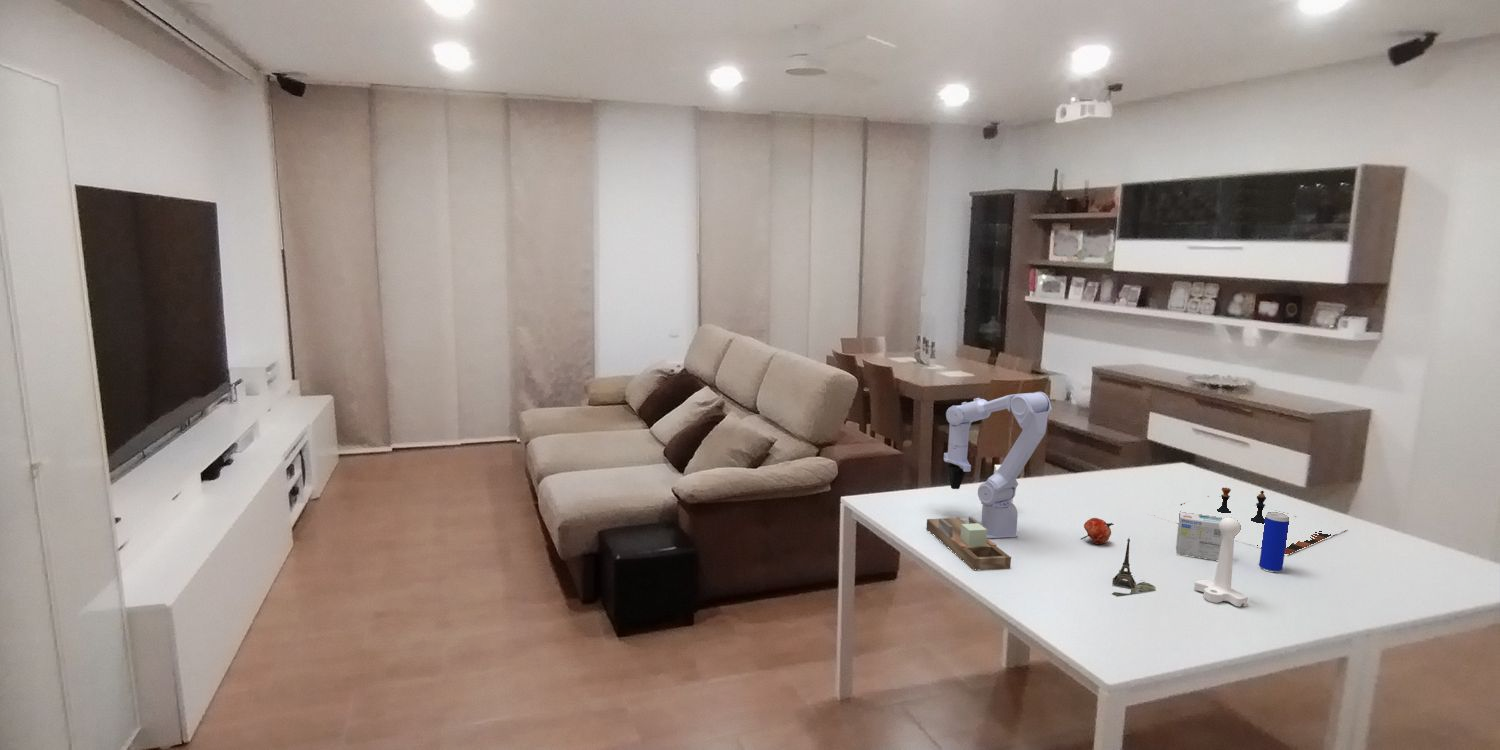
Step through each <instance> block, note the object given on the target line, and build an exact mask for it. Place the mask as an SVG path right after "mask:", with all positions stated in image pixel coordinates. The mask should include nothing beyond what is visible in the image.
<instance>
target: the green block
mask: <svg viewBox="0 0 1500 750" xmlns="http://www.w3.org/2000/svg"><path fill="white" fill-rule="evenodd" d="M986 539H987V529H986V528H984V527H983V526H982V525H980V524H979V523H974V524H968V523H967V524H961V536H960V540H961V541H962V542H963V543H965V544H966V545H967V546H968V547H972V546H986Z"/></svg>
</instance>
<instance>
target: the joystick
mask: <svg viewBox="0 0 1500 750" xmlns="http://www.w3.org/2000/svg"><path fill="white" fill-rule="evenodd" d="M1219 529H1220V531H1221V532H1222V534H1223V538H1222V543H1221V548H1220V554H1219V559H1218V561H1217V565H1216V571H1215V575H1214V581H1210V580H1207V579H1198V580H1196V581H1194V583H1193V584H1194V586H1193V590H1195V591H1199V592H1202V593H1203V595H1202V598H1203V599H1205V600H1206V602H1210V603H1212V604H1219V603H1221V602H1223V601H1224V602H1228V603H1231V604H1232V605H1233V606H1236V607H1247V605H1248V595H1246V594H1244V593H1242V592H1240V591H1238V590H1236V589H1233V588H1232V579H1233V578H1232V577H1233V576H1232V575H1233V565H1234V563H1233V561H1234V547H1235V541H1234V538H1235V536H1236V535H1237V534H1238V533H1239V532H1240V530H1241V525H1240V523H1239V522H1238V520H1236V519H1235V518H1232V517H1226V518H1223V519H1222V520H1221V521H1220V523H1219Z"/></svg>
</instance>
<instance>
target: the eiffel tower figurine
mask: <svg viewBox="0 0 1500 750" xmlns="http://www.w3.org/2000/svg"><path fill="white" fill-rule="evenodd" d="M1126 541H1127V543H1126V544H1127V545H1126V549H1125V550H1126V551H1125V555H1124V561H1123V562H1122V566H1121V569H1119V570H1118V571H1119V572H1118V573H1117V574H1116V575H1115V576H1114V577H1113V578H1112V587H1114V588H1115V587H1116V588H1120V589H1126V590H1130V592H1129V593H1128V592H1127V593H1124V592H1116V591H1114V592H1112V593H1111V595H1113V596H1115V597H1121V596H1130V595H1136V594H1141V593H1149V592H1156V591H1157V589H1156V586H1155V585H1153V584H1152V583H1149V582H1146V581H1143V582H1138V583H1137V582H1136V581H1135V579H1134V576H1133V575H1131V574H1132V572H1131V569H1130V565H1131V564H1130V561H1129V560H1130V542H1131V539H1130V537H1128V538H1127V540H1126ZM1125 569H1127V570H1125Z"/></svg>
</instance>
